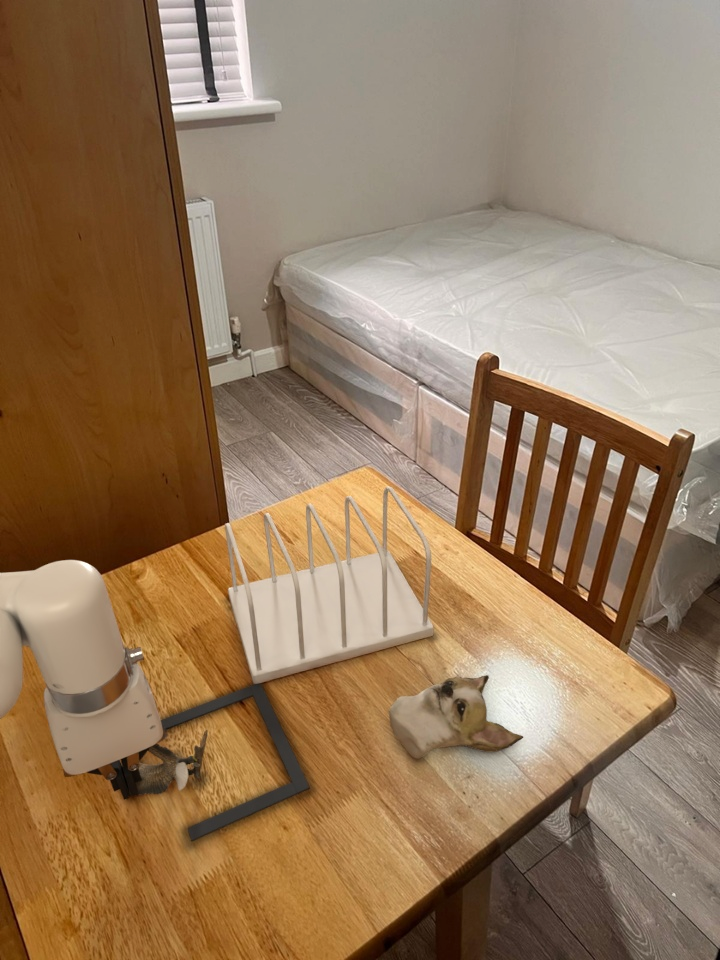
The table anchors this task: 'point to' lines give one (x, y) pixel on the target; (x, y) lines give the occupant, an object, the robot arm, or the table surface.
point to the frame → (280, 742)
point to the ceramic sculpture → (448, 719)
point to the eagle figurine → (169, 769)
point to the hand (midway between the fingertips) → (128, 786)
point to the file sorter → (326, 603)
